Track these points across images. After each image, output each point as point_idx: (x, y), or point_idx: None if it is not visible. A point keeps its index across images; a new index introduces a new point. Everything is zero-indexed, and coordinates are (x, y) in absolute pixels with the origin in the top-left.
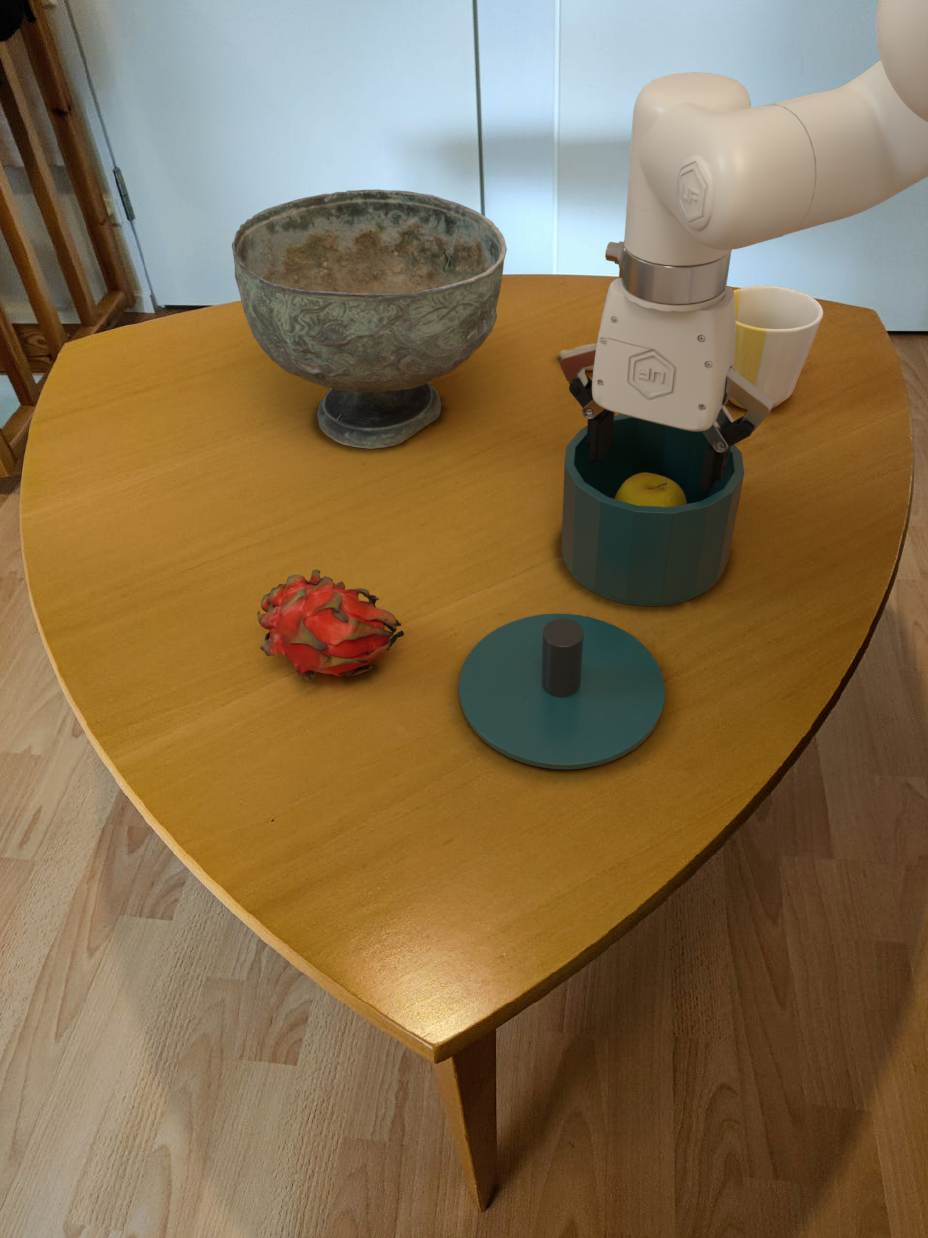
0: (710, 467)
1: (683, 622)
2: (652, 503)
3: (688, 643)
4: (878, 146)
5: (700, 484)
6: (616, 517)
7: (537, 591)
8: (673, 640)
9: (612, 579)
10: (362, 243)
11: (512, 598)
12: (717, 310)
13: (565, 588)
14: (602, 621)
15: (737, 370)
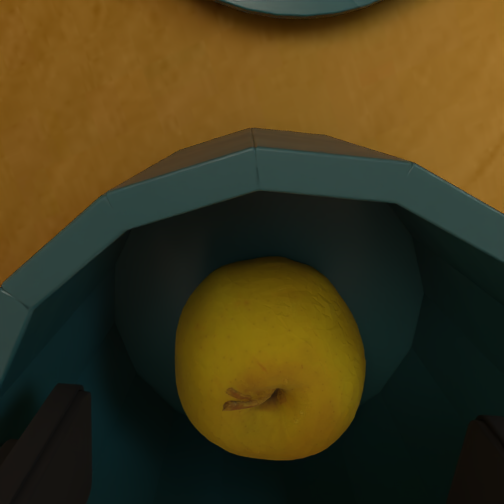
0: (5, 462)
1: (121, 122)
2: (249, 334)
3: (88, 59)
4: None
5: (79, 402)
6: (327, 149)
7: (448, 97)
8: (120, 56)
9: (292, 133)
10: None
11: (498, 51)
12: None
13: (391, 131)
14: (276, 11)
15: None
